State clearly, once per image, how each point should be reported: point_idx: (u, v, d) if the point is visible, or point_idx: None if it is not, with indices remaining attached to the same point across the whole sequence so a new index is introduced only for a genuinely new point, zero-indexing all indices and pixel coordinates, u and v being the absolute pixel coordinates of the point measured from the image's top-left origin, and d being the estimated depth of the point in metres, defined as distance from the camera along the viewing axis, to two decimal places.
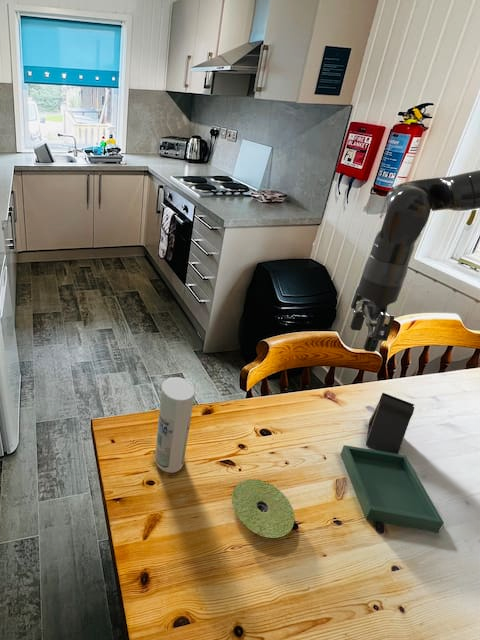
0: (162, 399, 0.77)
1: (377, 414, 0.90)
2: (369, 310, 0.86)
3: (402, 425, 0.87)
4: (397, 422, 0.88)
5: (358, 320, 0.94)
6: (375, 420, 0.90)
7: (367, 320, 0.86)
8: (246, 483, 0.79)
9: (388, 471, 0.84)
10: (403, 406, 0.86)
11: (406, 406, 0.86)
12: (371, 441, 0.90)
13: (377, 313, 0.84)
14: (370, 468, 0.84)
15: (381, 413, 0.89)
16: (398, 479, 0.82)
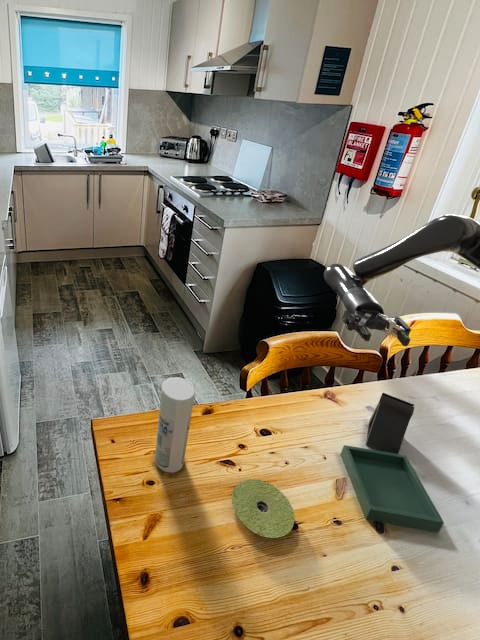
0: (162, 399, 0.77)
1: (377, 414, 0.90)
2: None
3: (402, 425, 0.87)
4: (397, 422, 0.88)
5: (399, 336, 0.96)
6: (375, 420, 0.90)
7: None
8: (246, 483, 0.79)
9: (388, 471, 0.84)
10: (403, 406, 0.86)
11: (406, 406, 0.86)
12: (371, 441, 0.90)
13: (354, 319, 1.04)
14: (370, 468, 0.84)
15: (381, 413, 0.89)
16: (398, 479, 0.82)
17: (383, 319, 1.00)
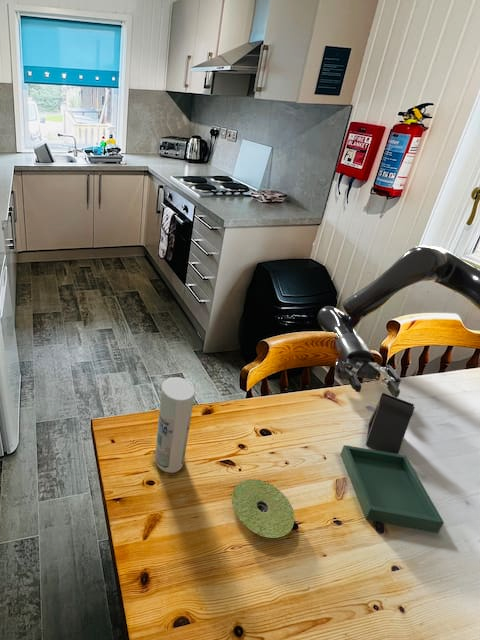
0: (162, 399, 0.77)
1: (377, 414, 0.90)
2: None
3: (402, 425, 0.87)
4: (397, 422, 0.88)
5: (390, 387, 0.98)
6: (375, 420, 0.90)
7: None
8: (246, 483, 0.79)
9: (388, 471, 0.84)
10: (403, 406, 0.86)
11: (406, 406, 0.86)
12: (371, 441, 0.90)
13: (346, 367, 1.06)
14: (370, 468, 0.84)
15: (381, 413, 0.89)
16: (398, 479, 0.82)
17: (374, 368, 1.02)
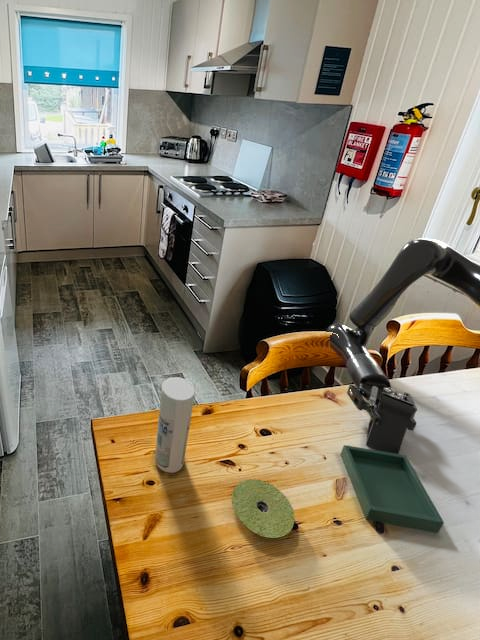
0: (162, 399, 0.77)
1: None
2: None
3: (402, 425, 0.87)
4: (397, 422, 0.87)
5: None
6: None
7: None
8: (246, 483, 0.79)
9: (388, 471, 0.84)
10: (403, 406, 0.86)
11: (406, 406, 0.86)
12: (371, 441, 0.90)
13: None
14: (370, 468, 0.84)
15: (381, 413, 0.89)
16: (398, 479, 0.82)
17: None
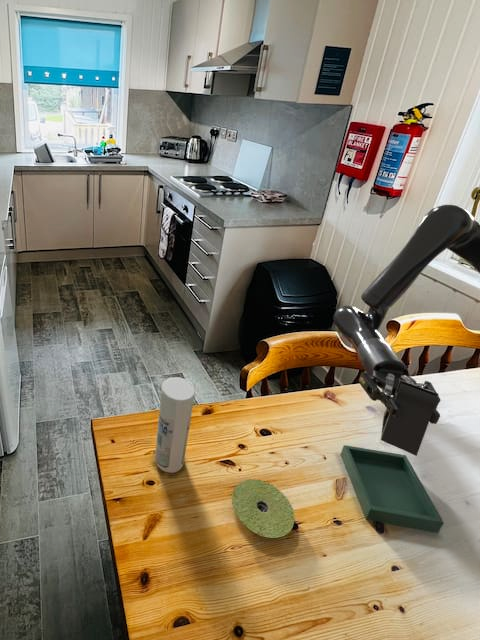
0: (162, 399, 0.77)
1: None
2: None
3: (424, 418, 0.75)
4: (418, 414, 0.76)
5: None
6: None
7: None
8: (246, 483, 0.79)
9: (388, 471, 0.84)
10: (426, 395, 0.75)
11: (429, 395, 0.74)
12: (387, 436, 0.78)
13: None
14: (370, 468, 0.84)
15: (399, 404, 0.77)
16: (398, 479, 0.82)
17: None
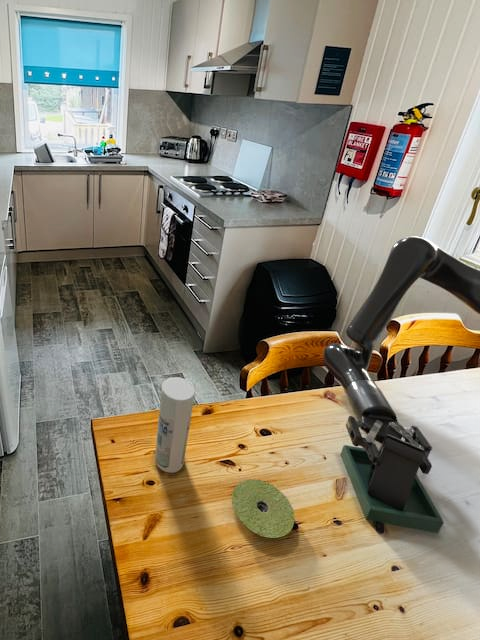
0: (162, 399, 0.77)
1: None
2: None
3: (410, 474, 0.75)
4: (404, 470, 0.75)
5: None
6: (378, 466, 0.78)
7: None
8: (246, 483, 0.79)
9: None
10: (411, 451, 0.74)
11: (414, 452, 0.74)
12: (373, 490, 0.78)
13: (360, 427, 0.85)
14: None
15: (385, 458, 0.77)
16: None
17: (396, 431, 0.81)
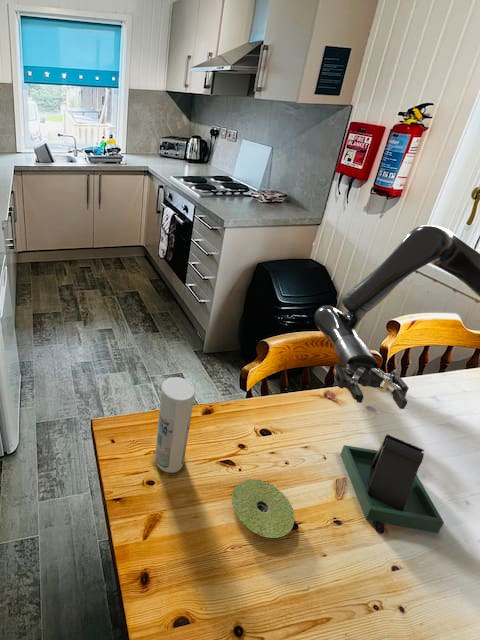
0: (162, 399, 0.77)
1: (380, 459, 0.77)
2: None
3: (410, 474, 0.75)
4: (404, 470, 0.75)
5: (395, 397, 0.87)
6: (378, 466, 0.78)
7: None
8: (246, 483, 0.79)
9: None
10: (411, 451, 0.74)
11: (414, 452, 0.74)
12: (373, 490, 0.78)
13: None
14: None
15: (385, 458, 0.77)
16: None
17: (377, 375, 0.91)
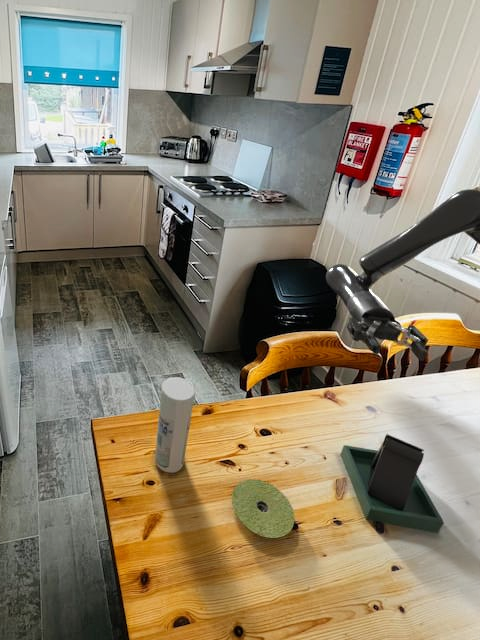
0: (162, 399, 0.77)
1: (380, 459, 0.77)
2: None
3: (410, 474, 0.75)
4: (404, 470, 0.75)
5: (414, 348, 0.82)
6: (378, 466, 0.78)
7: None
8: (246, 483, 0.79)
9: None
10: (411, 451, 0.74)
11: (414, 452, 0.74)
12: (373, 490, 0.78)
13: (360, 328, 0.90)
14: None
15: (385, 458, 0.77)
16: None
17: (395, 328, 0.86)
